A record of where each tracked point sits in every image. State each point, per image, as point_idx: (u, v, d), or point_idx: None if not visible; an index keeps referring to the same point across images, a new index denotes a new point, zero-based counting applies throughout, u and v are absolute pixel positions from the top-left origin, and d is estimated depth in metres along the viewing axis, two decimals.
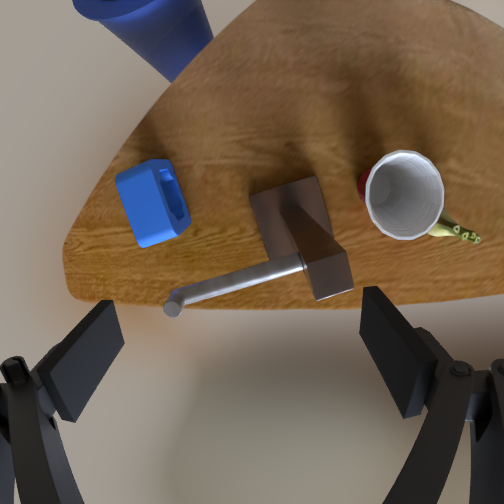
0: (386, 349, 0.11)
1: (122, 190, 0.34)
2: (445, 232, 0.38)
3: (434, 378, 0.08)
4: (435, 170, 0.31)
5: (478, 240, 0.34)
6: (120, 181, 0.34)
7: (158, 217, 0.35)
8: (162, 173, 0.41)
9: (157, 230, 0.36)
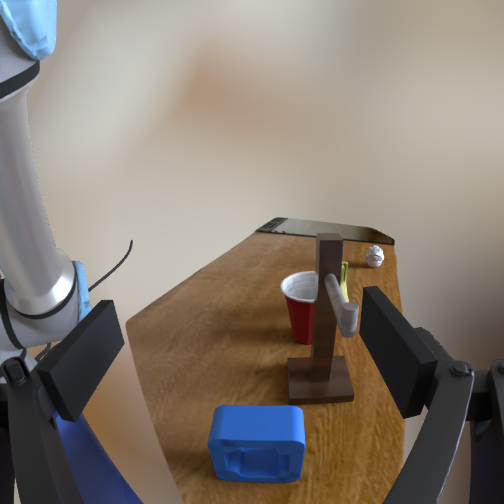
0: (386, 349, 0.12)
1: (229, 434, 0.27)
2: (342, 287, 0.64)
3: (434, 378, 0.08)
4: (297, 273, 0.60)
5: (345, 262, 0.65)
6: (218, 433, 0.27)
7: (276, 413, 0.30)
8: None
9: (289, 418, 0.29)
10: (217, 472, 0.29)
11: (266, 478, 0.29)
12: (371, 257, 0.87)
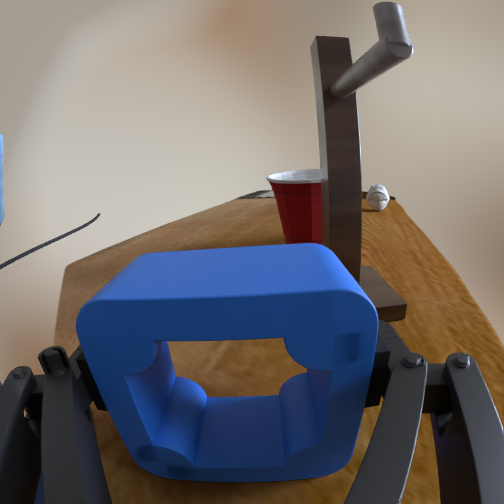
0: None
1: (130, 291, 0.09)
2: None
3: (388, 368, 0.09)
4: (288, 171, 0.44)
5: None
6: (102, 292, 0.09)
7: (274, 252, 0.12)
8: (177, 387, 0.15)
9: (312, 256, 0.11)
10: (132, 451, 0.11)
11: (262, 470, 0.11)
12: (374, 196, 0.72)
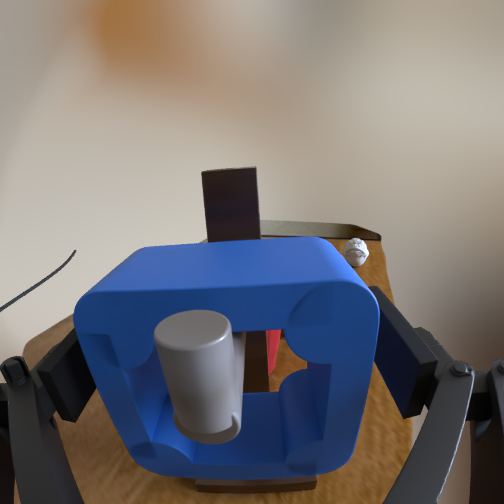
0: (386, 349, 0.11)
1: (128, 282, 0.09)
2: None
3: (435, 378, 0.08)
4: None
5: None
6: (100, 284, 0.09)
7: (273, 245, 0.12)
8: None
9: (313, 248, 0.11)
10: (130, 447, 0.11)
11: (262, 467, 0.11)
12: (351, 253, 0.67)
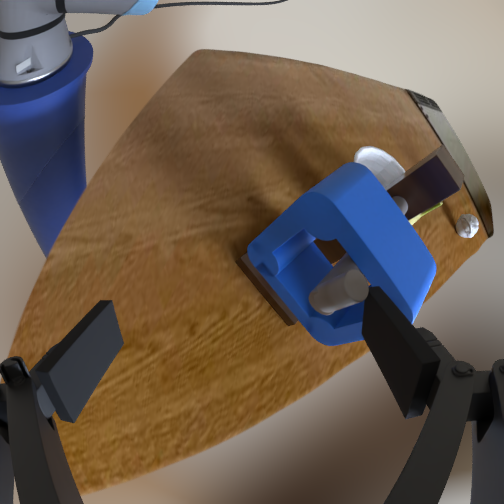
0: (388, 349, 0.11)
1: (349, 211, 0.16)
2: None
3: (436, 378, 0.08)
4: (390, 156, 0.39)
5: (441, 202, 0.42)
6: (336, 194, 0.16)
7: (416, 249, 0.17)
8: None
9: (424, 273, 0.17)
10: (255, 242, 0.22)
11: (299, 308, 0.23)
12: (464, 223, 0.60)
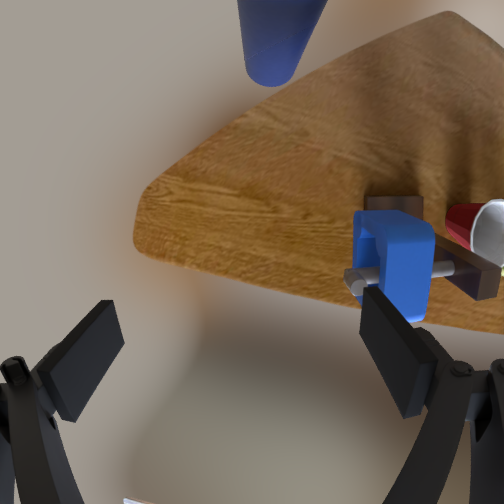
0: (386, 349, 0.11)
1: (393, 254, 0.24)
2: (502, 272, 0.40)
3: (435, 378, 0.08)
4: None
5: None
6: (394, 241, 0.24)
7: (418, 299, 0.26)
8: None
9: (409, 314, 0.26)
10: (359, 214, 0.31)
11: (355, 263, 0.34)
12: None
